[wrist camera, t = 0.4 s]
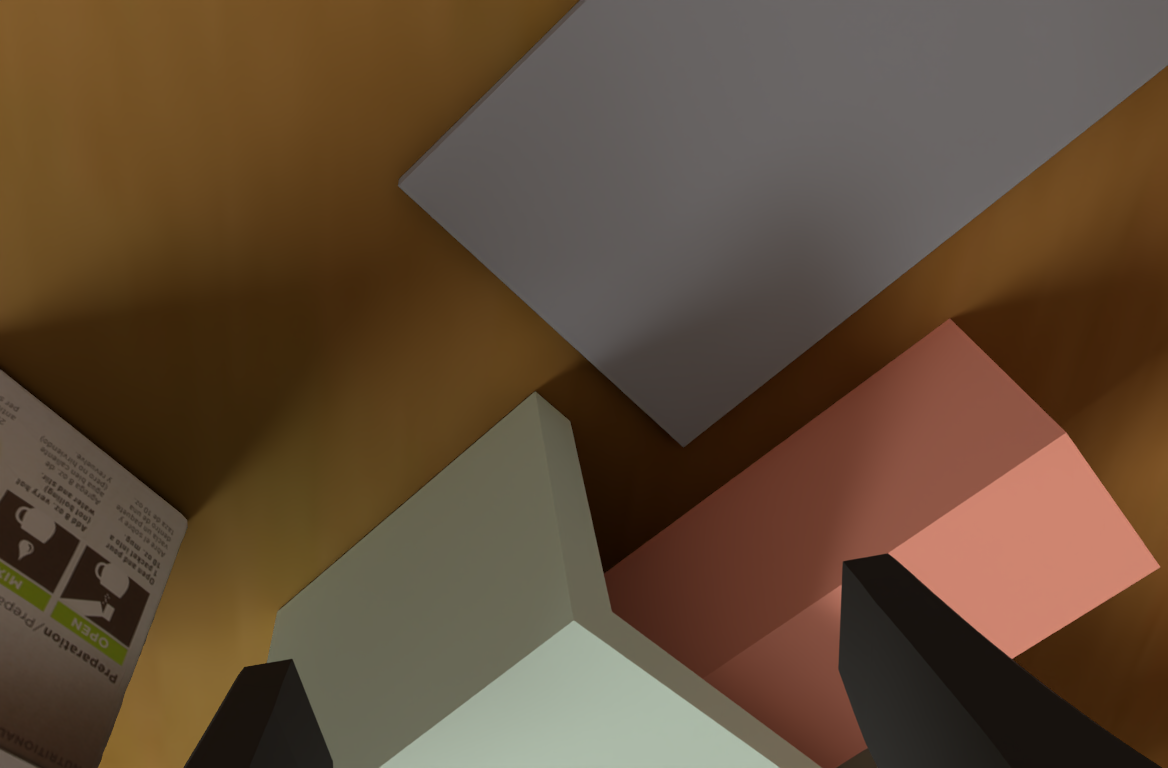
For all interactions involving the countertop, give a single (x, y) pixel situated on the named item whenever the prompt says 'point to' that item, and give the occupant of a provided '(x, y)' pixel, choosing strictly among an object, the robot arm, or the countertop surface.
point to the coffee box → (71, 584)
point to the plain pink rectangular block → (881, 538)
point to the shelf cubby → (502, 633)
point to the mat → (759, 166)
